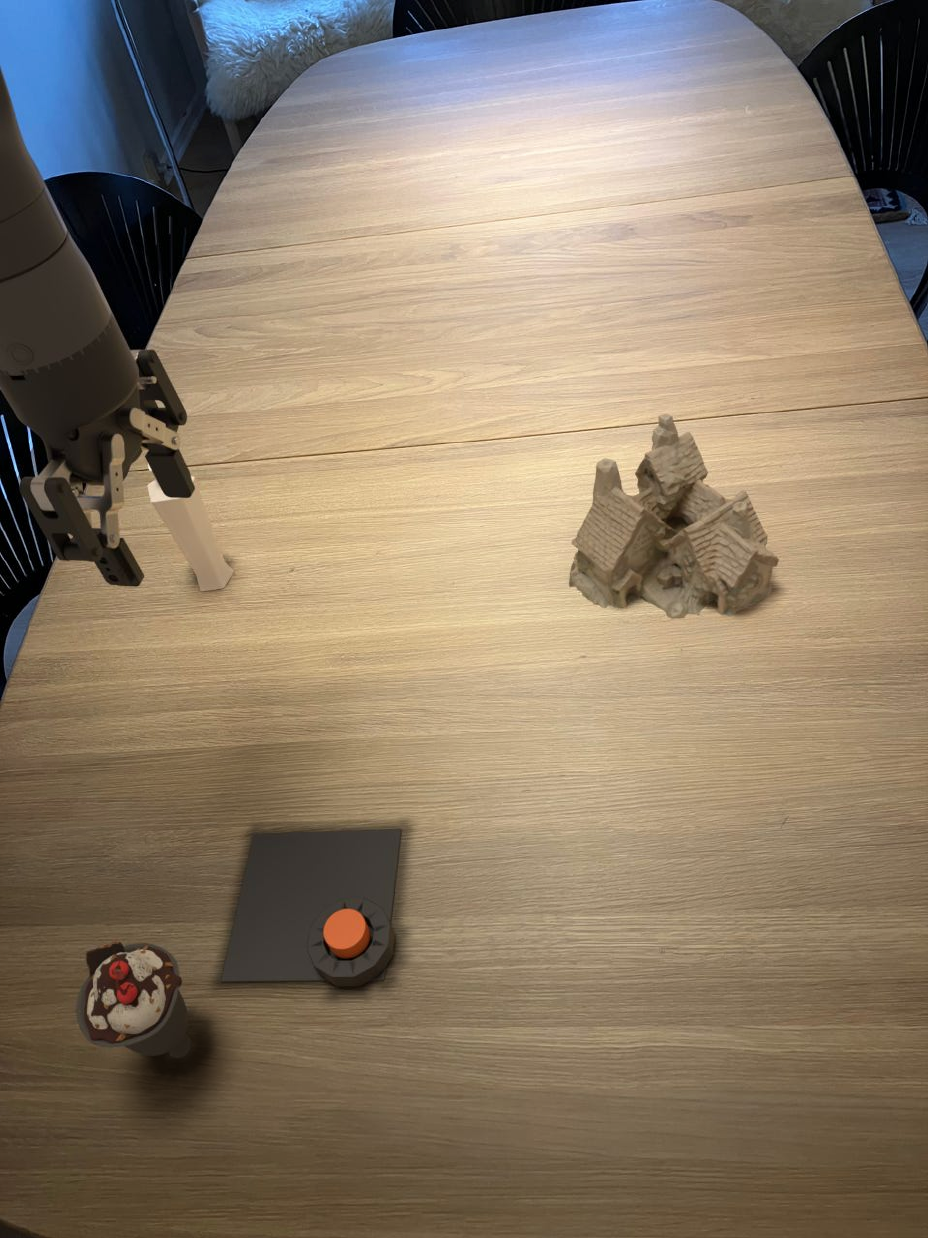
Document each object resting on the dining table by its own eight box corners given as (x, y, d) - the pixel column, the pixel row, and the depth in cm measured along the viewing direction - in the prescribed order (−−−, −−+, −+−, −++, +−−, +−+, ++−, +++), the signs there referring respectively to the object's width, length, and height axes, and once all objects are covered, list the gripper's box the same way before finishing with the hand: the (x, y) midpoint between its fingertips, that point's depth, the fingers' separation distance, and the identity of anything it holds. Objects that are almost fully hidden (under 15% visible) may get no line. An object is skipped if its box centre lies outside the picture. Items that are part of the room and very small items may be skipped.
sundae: (230, 1095, 69) (143, 1006, 58) (133, 1109, 70) (29, 1023, 59) (237, 999, 74) (157, 900, 63) (146, 1012, 74) (51, 917, 63)
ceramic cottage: (550, 562, 98) (542, 439, 86) (702, 504, 101) (714, 378, 89) (628, 680, 88) (632, 560, 77) (794, 613, 91) (822, 487, 79)
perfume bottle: (182, 586, 105) (123, 472, 94) (212, 558, 107) (157, 444, 96) (214, 600, 102) (156, 485, 91) (243, 572, 104) (190, 456, 94)
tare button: (325, 959, 72) (320, 949, 71) (332, 919, 74) (326, 909, 73) (367, 958, 71) (362, 949, 70) (373, 918, 73) (367, 908, 72)
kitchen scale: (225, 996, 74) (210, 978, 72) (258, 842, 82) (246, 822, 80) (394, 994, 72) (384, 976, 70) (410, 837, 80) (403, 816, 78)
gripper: (47, 263, 63) (151, 468, 75) (-81, 405, 54) (59, 612, 66) (154, 257, 61) (244, 469, 73) (39, 403, 52) (162, 618, 64)
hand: (156, 537), depth 70 cm, fingers open, 8 cm apart
